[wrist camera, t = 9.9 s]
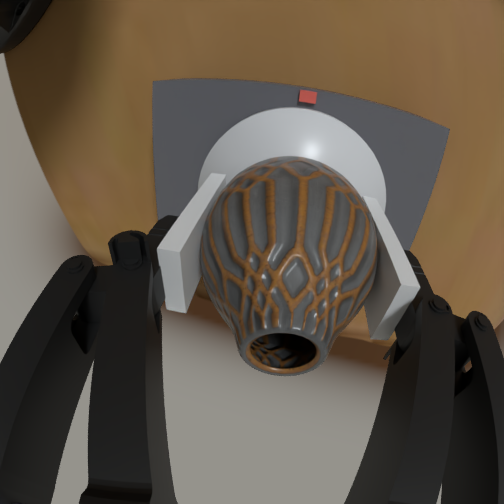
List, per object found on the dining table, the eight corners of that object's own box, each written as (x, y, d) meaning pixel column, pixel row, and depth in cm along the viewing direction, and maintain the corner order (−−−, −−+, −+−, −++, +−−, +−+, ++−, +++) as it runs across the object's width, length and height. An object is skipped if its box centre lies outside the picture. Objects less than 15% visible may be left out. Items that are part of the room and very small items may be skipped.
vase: (268, 112, 12) (226, 179, 4) (383, 193, 13) (455, 330, 6) (203, 221, 15) (135, 354, 8) (305, 279, 17) (303, 418, 10)
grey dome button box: (181, 232, 22) (157, 271, 18) (180, 78, 15) (143, 82, 11) (376, 261, 21) (390, 305, 17) (421, 116, 14) (458, 133, 10)
